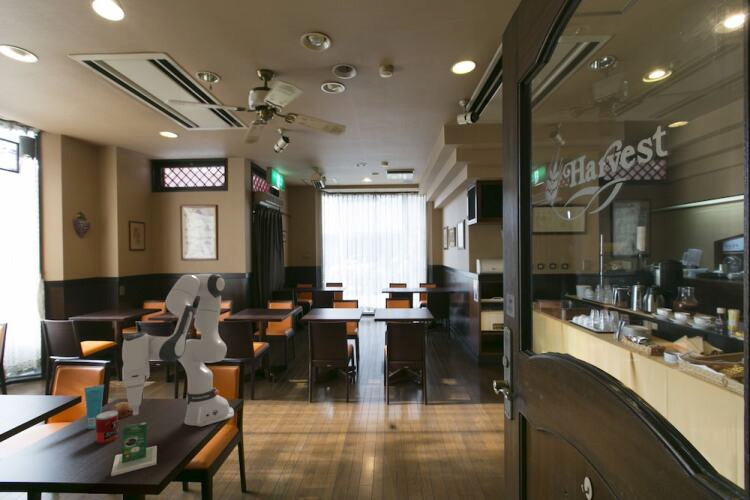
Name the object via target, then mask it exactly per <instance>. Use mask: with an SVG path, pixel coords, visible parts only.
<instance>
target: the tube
mask: <svg viewBox="0 0 750 500" xmlns="http://www.w3.org/2000/svg"><path fill="white" fill-rule="evenodd" d="M104 389H105V384H100V385H94V386H86V387H83V390H84V391H83V392H84V397H85V408H86V423H87V429H88V430H94V429H95V430H96V416H97V415H99V414H101V413H102V407H103V406H102V405H103V395H104Z"/></svg>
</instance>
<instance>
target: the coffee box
mask: <svg viewBox="0 0 750 500" xmlns="http://www.w3.org/2000/svg"><path fill="white" fill-rule="evenodd" d="M147 434H148V421H144V422H143V421H142V422H137V423H133V424H127V425H123V428H122V449H121V451H122V453H121V454H122V462H127V461H131V460H134V459H138V458H143V457H146V448H147V442H148V441H147V439H148V437H147V436H148V435H147Z"/></svg>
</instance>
